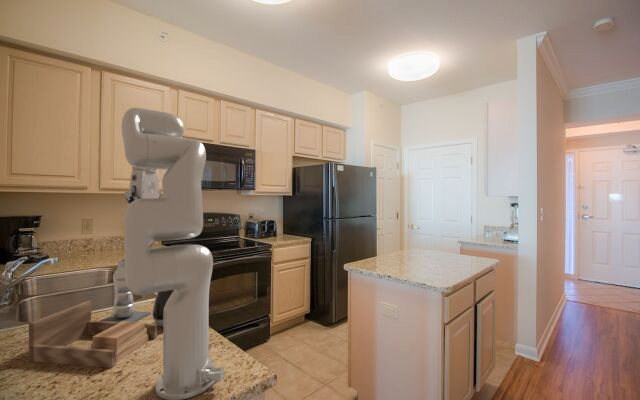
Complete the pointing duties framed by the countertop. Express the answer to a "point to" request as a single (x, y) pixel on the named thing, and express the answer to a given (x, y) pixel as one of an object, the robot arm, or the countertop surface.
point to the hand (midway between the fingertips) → (144, 215)
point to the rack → (72, 338)
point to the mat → (133, 318)
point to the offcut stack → (122, 338)
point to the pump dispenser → (160, 306)
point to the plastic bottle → (122, 294)
